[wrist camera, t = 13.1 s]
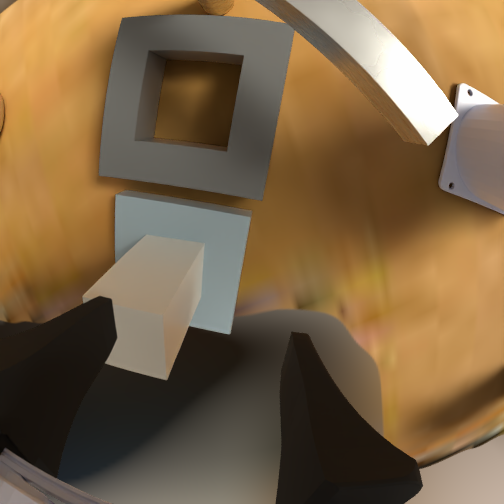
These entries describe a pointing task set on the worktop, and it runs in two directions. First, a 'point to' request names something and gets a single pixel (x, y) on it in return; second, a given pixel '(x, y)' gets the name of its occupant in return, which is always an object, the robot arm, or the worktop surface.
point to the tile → (197, 230)
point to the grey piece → (366, 61)
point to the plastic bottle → (1, 112)
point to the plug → (152, 302)
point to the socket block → (148, 94)
